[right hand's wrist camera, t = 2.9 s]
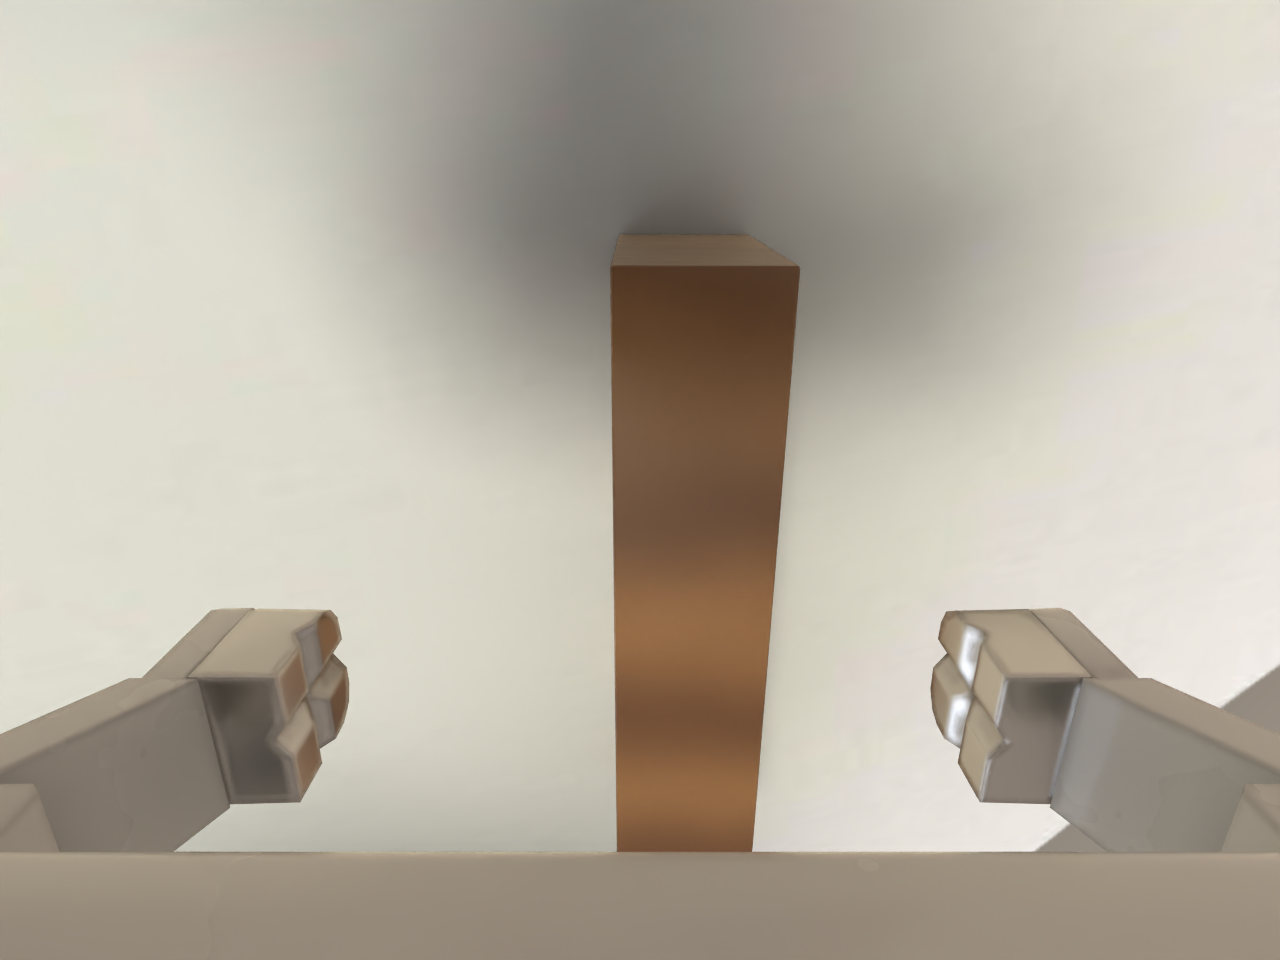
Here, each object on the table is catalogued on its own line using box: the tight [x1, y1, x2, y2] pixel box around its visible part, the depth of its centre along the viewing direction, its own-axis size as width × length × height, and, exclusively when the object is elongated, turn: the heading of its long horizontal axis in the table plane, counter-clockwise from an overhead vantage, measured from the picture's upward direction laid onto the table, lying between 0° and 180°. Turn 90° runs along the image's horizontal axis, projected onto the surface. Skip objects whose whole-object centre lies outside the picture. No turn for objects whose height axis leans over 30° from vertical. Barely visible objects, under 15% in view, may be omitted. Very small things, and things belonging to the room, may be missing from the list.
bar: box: [610, 234, 800, 852], centre depth 26 cm, size 25×4×9 cm, turn 0°
